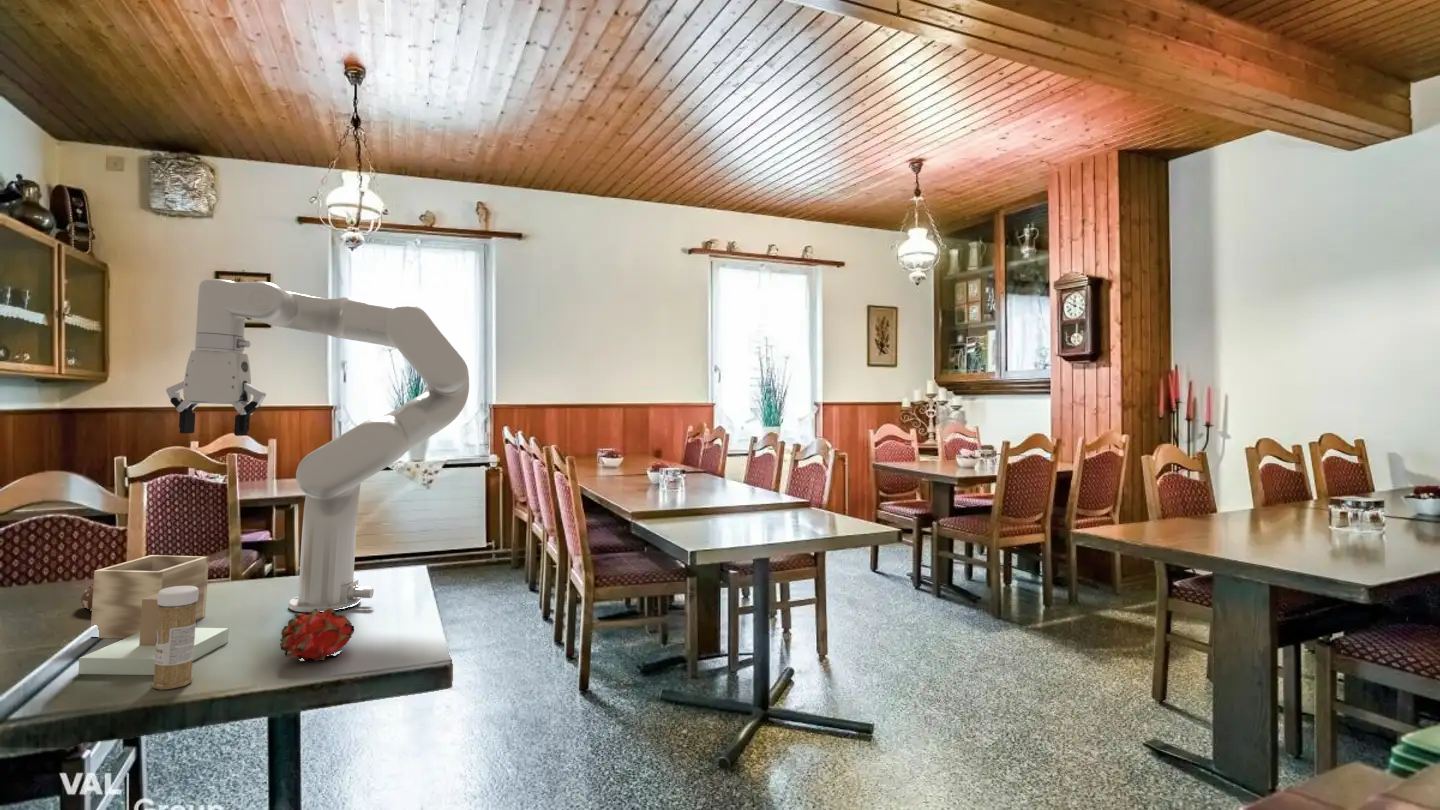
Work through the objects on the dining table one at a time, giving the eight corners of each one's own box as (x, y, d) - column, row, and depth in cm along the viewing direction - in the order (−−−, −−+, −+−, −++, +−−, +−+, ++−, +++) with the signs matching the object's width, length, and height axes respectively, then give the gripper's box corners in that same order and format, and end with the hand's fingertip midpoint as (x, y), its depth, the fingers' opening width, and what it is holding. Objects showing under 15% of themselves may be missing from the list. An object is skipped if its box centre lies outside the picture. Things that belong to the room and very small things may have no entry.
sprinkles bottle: (148, 684, 99) (154, 587, 99) (188, 676, 103) (193, 583, 103) (156, 693, 96) (162, 594, 96) (197, 685, 100) (203, 589, 100)
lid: (228, 642, 118) (231, 585, 118) (166, 675, 103) (170, 610, 103) (151, 640, 116) (155, 584, 117) (78, 673, 102) (82, 608, 102)
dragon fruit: (268, 678, 107) (344, 669, 117) (301, 654, 104) (375, 646, 114) (261, 625, 111) (335, 620, 121) (292, 600, 108) (365, 597, 118)
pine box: (205, 616, 130) (208, 556, 131) (155, 639, 117) (159, 572, 118) (147, 615, 130) (151, 555, 130) (90, 637, 116) (94, 570, 117)
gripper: (277, 349, 140) (272, 436, 140) (184, 344, 138) (178, 431, 138) (256, 345, 133) (250, 437, 132) (157, 340, 131) (151, 432, 131)
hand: (213, 434), depth 135 cm, fingers open, 9 cm apart
